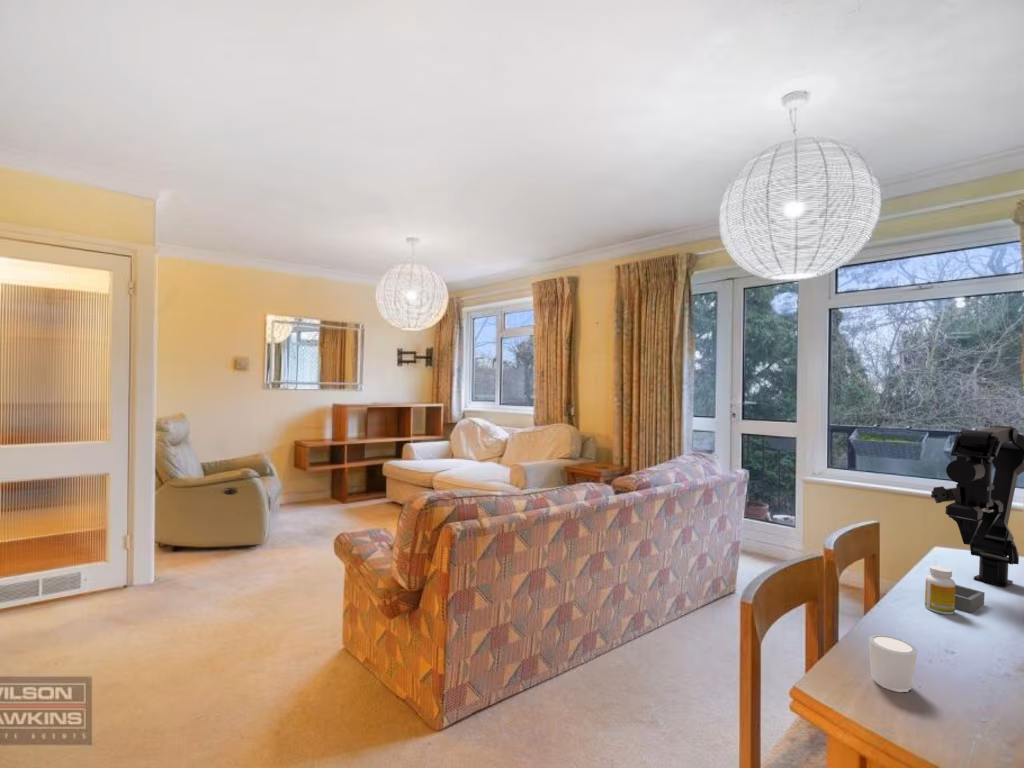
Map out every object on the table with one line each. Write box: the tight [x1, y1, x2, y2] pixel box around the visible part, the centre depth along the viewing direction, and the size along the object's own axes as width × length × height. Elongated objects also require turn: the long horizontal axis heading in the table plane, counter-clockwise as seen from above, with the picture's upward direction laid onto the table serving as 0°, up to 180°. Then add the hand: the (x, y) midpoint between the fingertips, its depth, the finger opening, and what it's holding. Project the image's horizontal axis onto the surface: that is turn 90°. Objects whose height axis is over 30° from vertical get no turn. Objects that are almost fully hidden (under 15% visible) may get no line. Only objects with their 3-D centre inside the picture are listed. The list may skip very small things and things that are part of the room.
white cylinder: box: [868, 634, 918, 689], centre depth 91 cm, size 7×7×7 cm
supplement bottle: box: [924, 565, 956, 615], centre depth 121 cm, size 5×5×10 cm
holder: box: [955, 583, 985, 614], centre depth 126 cm, size 9×9×3 cm
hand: (973, 541), depth 132 cm, fingers open, 9 cm apart
